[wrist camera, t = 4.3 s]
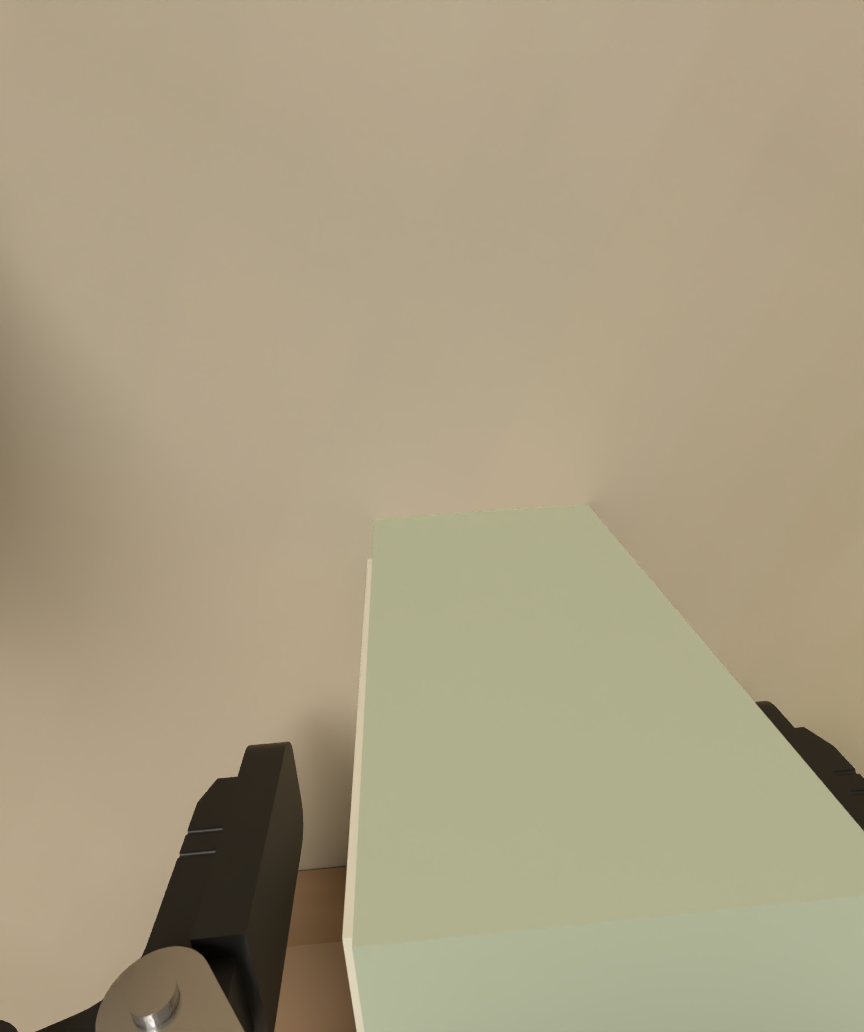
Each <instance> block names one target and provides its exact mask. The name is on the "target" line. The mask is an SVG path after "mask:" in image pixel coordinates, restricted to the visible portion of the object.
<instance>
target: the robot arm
mask: <svg viewBox="0 0 864 1032" xmlns="http://www.w3.org/2000/svg"><path fill="white" fill-rule="evenodd" d="M755 703H756V704H757V706H758V707H759V708H760V709H761V710H762V711H763V713H764V714H765V715H766V716H767V717H768V719H769V720H770V721H771V722H772V723H773V724H774V726H775V727H776V728H777V729H778V730H779V732H780V733H781V734H782V735H783V736H784V737H785V739H786V740H787V741H788V742H789V743H790V745H791V746H792V747H793V748H794V749H795V750H796V752H797V753H798V754H799V755H800V756H801V758H802V759H803V760H804V761H805V762H806V763H807V765H808V766H809V767H810V768H811V769H812V771H813V772H814V773H815V774H816V775H817V776H818V778H819V779H820V780H821V781H822V782H823V784H824V785H825V786H826V787H827V788H828V789H829V791H830V792H831V793H832V794H833V795H834V797H835V798H836V799H837V800H838V801H839V803H840V804H841V805H842V806H843V807H844V808H845V810H846V811H847V812H848V813H849V814H850V816H851V817H852V818H853V819H854V820H855V821H856V823H857V824H858V825H859V826H860V827H861V829H862V830H863V831H864V778H863V777H862V776H861V775H860V774H856V772H855V768H854V767H853V766H852V765H851V764H850V763H849V762H848V761H847V760H846V759H845V758H844V757H843V756H842V755H841V753H840V752H839V751H838V750H837V749H836V748H835V747H834V746H833V745H831V744H830V743H828V742H826V741H825V740H823V739H822V738H820V737H819V736H817V735H815V734H814V733H812V732H811V731H809V730H808V729H806V728H804V727H799V728H794V727H793V726H792V725H791V723H790V722H789V721H788V720H787V719H786V718H785V717H784V716H783V714H782V713H781V712H780V711H779V710H778V709H777V708H776V707H775V706H774V705H773V704H772V703H770V702H768V701H761V702H755ZM302 840H303V809H302V801H301V796H300V790H299V784H298V778H297V772H296V766H295V760H294V754H293V749H292V745H291V743H290V742H282V743H270V744H259V745H249V746H248V747H247V748H246V751H245V754H244V757H243V760H242V764H241V767H240V771H239V774H238V777H230V778H219V779H217V780H216V781H215V782H214V783H213V785H212V786H211V787H210V788H209V789H208V791H207V792H206V793H205V794H204V795H203V797H202V798H201V799H200V800H199V801H198V803H197V805H196V808H195V811H194V814H193V816H192V819H191V822H190V825H189V828H188V835H186V836H185V839H184V842H183V845H182V847H181V850H180V857H179V858H178V859H177V861H176V864H175V867H174V870H173V873H172V876H171V878H170V881H169V884H168V887H167V890H166V892H165V895H164V898H163V901H162V904H161V906H160V909H159V912H158V915H157V918H156V921H155V923H154V926H153V929H152V932H151V935H150V937H149V940H148V943H147V946H146V948H145V950H144V953H143V955H142V957H141V958H140V959H138V960H137V961H136V962H134V963H133V964H132V965H130V966H129V967H128V968H127V969H126V970H125V971H124V972H123V973H122V974H121V975H120V976H119V977H118V978H117V979H116V980H115V982H114V983H113V984H112V985H111V987H110V988H109V990H108V991H107V993H106V995H105V997H104V999H103V1000H102V1001H100V1002H99V1003H97V1004H95V1005H94V1006H92V1007H91V1008H89V1009H87V1010H85V1011H83V1012H81V1013H78V1014H76V1015H74V1016H71V1017H69V1018H67V1019H64V1020H62V1021H60V1022H57V1023H55V1024H53V1025H50V1026H48V1027H46V1028H43V1029H41V1030H39V1031H36V1032H274V1030H275V1023H276V1017H277V1010H278V1003H279V996H280V990H281V983H282V976H283V969H284V963H285V956H286V949H287V942H288V935H289V929H290V922H291V915H292V908H293V902H294V895H295V888H296V881H297V875H298V868H299V861H300V854H301V848H302ZM0 1032H18V1031H17V1030H16V1028H15V1027H14V1026H13V1025H11V1024H10V1023H8V1022H5V1021H3V1020H0Z"/></svg>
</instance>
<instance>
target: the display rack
mask: <svg viewBox="0 0 864 1032" xmlns="http://www.w3.org/2000/svg"><path fill="white" fill-rule="evenodd" d="M346 874H347V867H338V868H328V869H317V870H307V871H298V875H297V881H296V888H295V895H294V902H293V908H292V915H291V922H290V929H289V935H288V942H287V949H286V956H285V963H284V969H283V976H282V983H281V990H280V996H279V1003H278V1010H277V1017H276V1023H275V1030H274V1032H357V1030H356V1024H355V1018H354V1011H353V1005H352V998H351V992H350V986H349V979H348V973H347V966H346V960H345V953H344V947H343V941H342V934H343V919H344V904H345V889H346Z"/></svg>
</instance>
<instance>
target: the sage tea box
mask: <svg viewBox="0 0 864 1032" xmlns="http://www.w3.org/2000/svg"><path fill="white" fill-rule="evenodd" d="M342 941H343V947H344V953H345V960H346V966H347V973H348V979H349V986H350V992H351V998H352V1005H353V1011H354V1018H355V1024H356V1030H357V1032H864V831H863V830H862V829H861V827H860V826H859V825H858V824H857V823H856V821H855V820H854V819H853V818H852V817H851V816H850V814H849V813H848V812H847V811H846V810H845V808H844V807H843V806H842V805H841V804H840V803H839V801H838V800H837V799H836V798H835V797H834V795H833V794H832V793H831V792H830V791H829V789H828V788H827V787H826V786H825V785H824V784H823V782H822V781H821V780H820V779H819V778H818V776H817V775H816V774H815V773H814V772H813V771H812V769H811V768H810V767H809V766H808V765H807V763H806V762H805V761H804V760H803V759H802V758H801V756H800V755H799V754H798V753H797V752H796V750H795V749H794V748H793V747H792V746H791V745H790V743H789V742H788V741H787V740H786V739H785V737H784V736H783V735H782V734H781V733H780V732H779V730H778V729H777V728H776V727H775V726H774V724H773V723H772V722H771V721H770V720H769V719H768V717H767V716H766V715H765V714H764V713H763V711H762V710H761V709H760V708H759V707H758V706H757V704H756V703H755V702H754V701H753V700H752V698H751V697H750V696H749V695H748V694H747V693H746V691H745V690H744V689H743V688H742V687H741V685H740V684H739V683H738V682H737V681H736V680H735V678H734V677H733V676H732V675H731V674H730V672H729V671H728V670H727V669H726V668H725V667H724V665H723V664H722V663H721V662H720V661H719V659H718V658H717V657H716V656H715V655H714V653H713V652H712V651H711V650H710V649H709V648H708V646H707V645H706V644H705V643H704V642H703V640H702V639H701V638H700V637H699V636H698V635H697V633H696V632H695V631H694V630H693V629H692V627H691V626H690V625H689V624H688V623H687V622H686V620H685V619H684V618H683V617H682V616H681V614H680V613H679V612H678V611H677V610H676V609H675V607H674V606H673V605H672V604H671V603H670V601H669V600H668V599H667V598H666V597H665V596H664V594H663V593H662V592H661V591H660V590H659V588H658V587H657V586H656V585H655V584H654V583H653V581H652V580H651V579H650V578H649V577H648V575H647V574H646V573H645V572H644V571H643V570H642V568H641V567H640V566H639V565H638V564H637V562H636V561H635V560H634V559H633V558H632V557H631V555H630V554H629V553H628V552H627V551H626V549H625V548H624V547H623V546H622V545H621V544H620V542H619V541H618V540H617V539H616V538H615V536H614V535H613V534H612V533H611V532H610V531H609V529H608V528H607V527H606V526H605V525H604V523H603V522H602V521H601V520H600V519H599V518H598V516H597V515H596V514H595V513H594V512H593V510H592V509H591V508H590V507H589V506H588V504H587V503H584V504H570V505H557V506H543V507H530V508H516V509H503V510H490V511H476V512H463V513H449V514H436V515H422V516H409V517H395V518H382V519H374V534H373V553H372V559H368V562H367V577H366V592H365V607H364V622H363V637H362V652H361V666H360V681H359V696H358V711H357V726H356V741H355V755H354V770H353V785H352V800H351V815H350V830H349V845H348V859H347V874H346V889H345V904H344V919H343V934H342Z"/></svg>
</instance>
